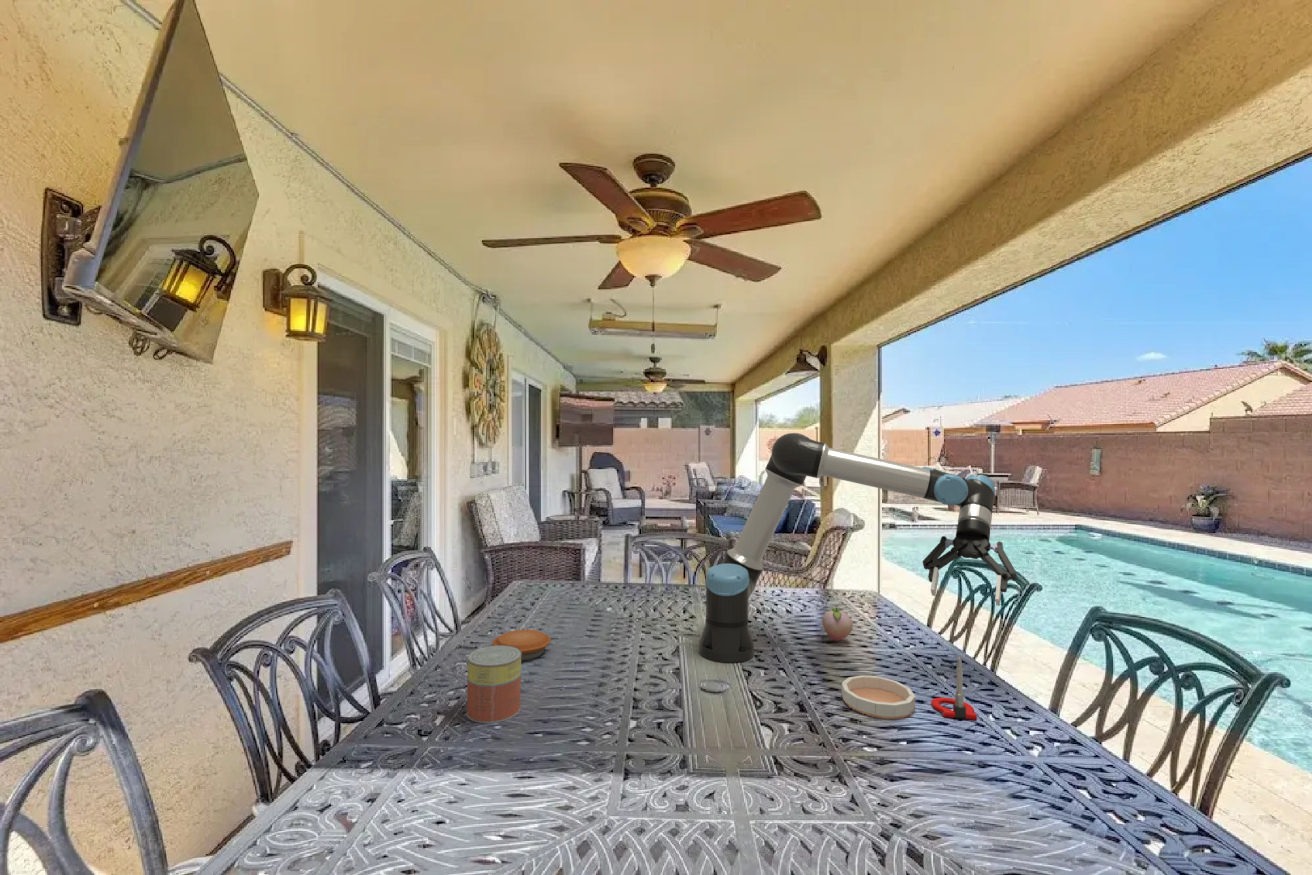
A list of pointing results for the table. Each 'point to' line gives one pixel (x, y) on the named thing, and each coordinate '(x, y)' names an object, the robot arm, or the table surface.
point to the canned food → (493, 684)
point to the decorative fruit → (837, 624)
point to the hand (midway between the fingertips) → (964, 597)
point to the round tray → (878, 697)
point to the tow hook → (956, 700)
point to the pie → (525, 642)
